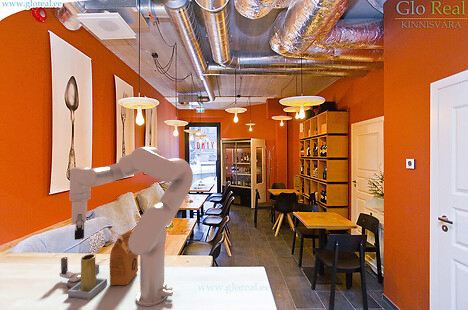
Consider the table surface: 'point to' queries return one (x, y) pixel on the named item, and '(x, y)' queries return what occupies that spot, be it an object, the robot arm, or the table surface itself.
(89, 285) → the vase
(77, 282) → the disc
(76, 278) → the crank
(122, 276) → the coffee package
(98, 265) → the post
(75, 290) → the tray
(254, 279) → the table surface
